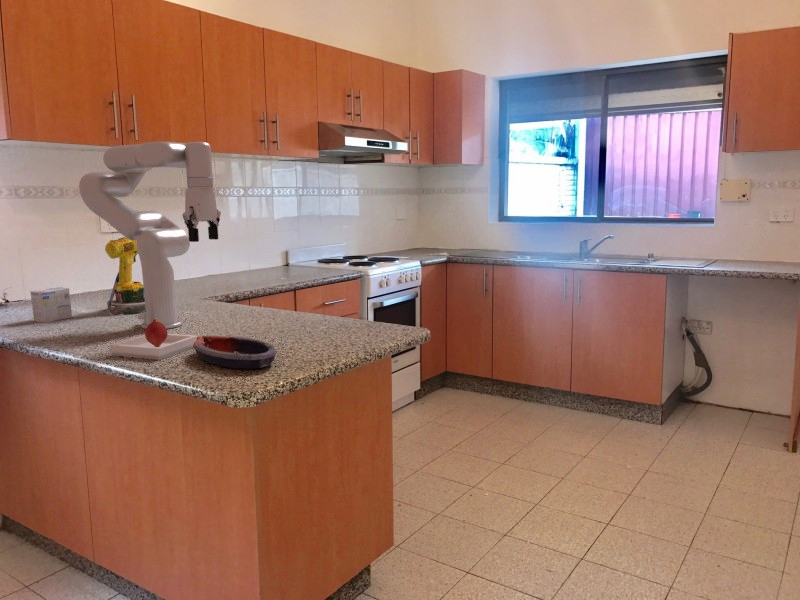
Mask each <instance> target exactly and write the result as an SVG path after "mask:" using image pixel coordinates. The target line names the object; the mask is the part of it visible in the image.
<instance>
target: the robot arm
mask: <svg viewBox="0 0 800 600" xmlns="http://www.w3.org/2000/svg"><path fill="white" fill-rule="evenodd" d="M102 158H103V163H104V165H105V166H106V168H107V169H109V170H110V171H92V172H89V173H86V174H84V175H83V176H82V177H81V178H80V180H79V182H78V184H79V185H78V189H79V190H78V191H79V194H80V197H81V199H82V201H83V203H84V204H85V206H86V207H87V208H88V209H89V210H90V211H91V212H92V213H94V214H95V215H97V216H98V217H99V218H100V219H102V220H104V221H105V222H106V223H107V224H108V225H110V227H112V228H114V229H115V230H116V231H117V232H118V233H120V234H121V235H122V236H123V237H125V238H128V239H130V240H135V241H137V242H136V245H137V250H138V254H137V255H138V256H139V257H138V258H139V261H140V265H141V273H142V282H143V283H142V285H143V288H144V299H145V311H144V312H140V313H139V315H137V319H138V320H143V322H142V323H141V328H142V329H144V330H146V328H147V326H148V325H149V324H150V323H152V322H153V320H154V319H155V318H156V319H157V320H158V322H160V323H162V324H163V325H164V326H165V327H166V329H174V328H177V327H180V326H182V325H183V320H181V319H178V311H177V299H176V298H177V297H176V286H175V284H176V283H175V274H174V268H173V266H172V265H171V263H170V260H169V259H168V258H173V257H174V258H175V257H179V256H183V255H185V254H187V252H188V250H189V249H190V246H191V243H195V242H196V243H198V242H199V241H200V237H199V228H198V227H197V226H199V223H200V222H201V223H202V222H207V224H208V226H207V229H208V230H207V231H208V240H219V225H220V220H221V219H220V218H221V215H222V214H221V211H220V210H218V209H217V207H218V206H217V200H216V194H215V190H214V178H213V176H214V175H213V162H212V147H211V144H210V143H208V142H205V141H189V142H176V141H175V142H174V141H149V142H142V143H136V144H124V145H116V146H115V145H114V146H111V147H110V148H108V149H107V150H105V152H104V154H103V156H102ZM154 168H177V169H179V168H180V169H185V171H186V183H187V184H186V185H187V188H186V189H185V197H184V198H185V199H184V210H185V211H184V212H183V213H182V218H183V220H184V224H185V226H186V229H187V231H188V232H186V231H185V229H183V228H182V227H180V226H179V225H178V224H177V223H175V222H174V221H173V220H172V219H170V218H169V217H167V216H166V215H165V214H163V213H162V212H159V211H156V210H135V209H134V208H132V207H131V206H129V205H128V204H126V202H124V201H122V200H120V199H118V198H126V197H128V196H130V195H132V193H134V191H135V190H136V188H137V186H138V185H139V184H140V182H141V181H142V179H143V178H144V176H145V174H146V173H147V172H150V171H151V170H153V169H154Z"/></svg>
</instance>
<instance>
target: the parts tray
mask: <svg viewBox="0 0 800 600" xmlns="http://www.w3.org/2000/svg"><path fill="white" fill-rule="evenodd" d="M197 337H199V335H194V334H193V335H190V334H179V333H178V334H177V333H168V335H167V338H166V340H165V341H164V342H163V343H162V344H161V345H160V346H159V347H155V346H154V345H152V344H151V343H149V342H148V341H147V339H146V337H145V334H143V335H140V336H139V335H138V336H136V337H132V338H129V339H126V340H122V341H119V342H114V343H112V344H109V345H110V354H111V355H114V356H113V357H119V356H124V357H123V358H131V357H134V359H143V358H144V359H145V360H158V361H161V360H164V359H167V358H170V357H172V356H176V355H178V354H180V353H184V352H186V351H189V350H192V349H194V348H193V344H194V342H195V341H196V339H197Z"/></svg>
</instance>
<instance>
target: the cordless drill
mask: <svg viewBox="0 0 800 600" xmlns="http://www.w3.org/2000/svg"><path fill="white" fill-rule="evenodd" d="M136 242H137V241H135V240H130V239H128V238H126V237H125V236H123V237H120V238H119V237H118V239H114V240H113V239H110V240H109V241H108V243H107V244H106V245H105V247H104V249H105V250H104V251H105V252H106V254H107V256H108V257H109V258H110V259H112V260H113V259H119V261H118V262H119V264H118V265H119V266H118V272H117V275H116V277H115V280H114V283H113V287H112V288H111V289H112V290H111V292H110V296H109V300H107V301H106V302H107V304H106V305H107V310H108V311H109V313H110V314H111V315H117V314H122V315H137V314H140V313H143V312H146V311H145V299H144V286H143V283H142V282H140V281H133V267H132V266H133V264H134V263H136V262H137V261H136V256H137V255H139V254H138V250H137V245H136ZM114 298H115V299H114Z"/></svg>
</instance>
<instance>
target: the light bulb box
mask: <svg viewBox="0 0 800 600" xmlns="http://www.w3.org/2000/svg"><path fill="white" fill-rule="evenodd" d="M70 292H71V291H70V288H69V287H59V286H58V287H52V288H45V289H39V290H38V289H36V290H30V298H31V299H30V301H31V308H32V316H33V321H34V322H36V323H43V324H44V323H49V322H54V321H59V320H65V319H71V318H73V311H72V303H71V293H70Z"/></svg>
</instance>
